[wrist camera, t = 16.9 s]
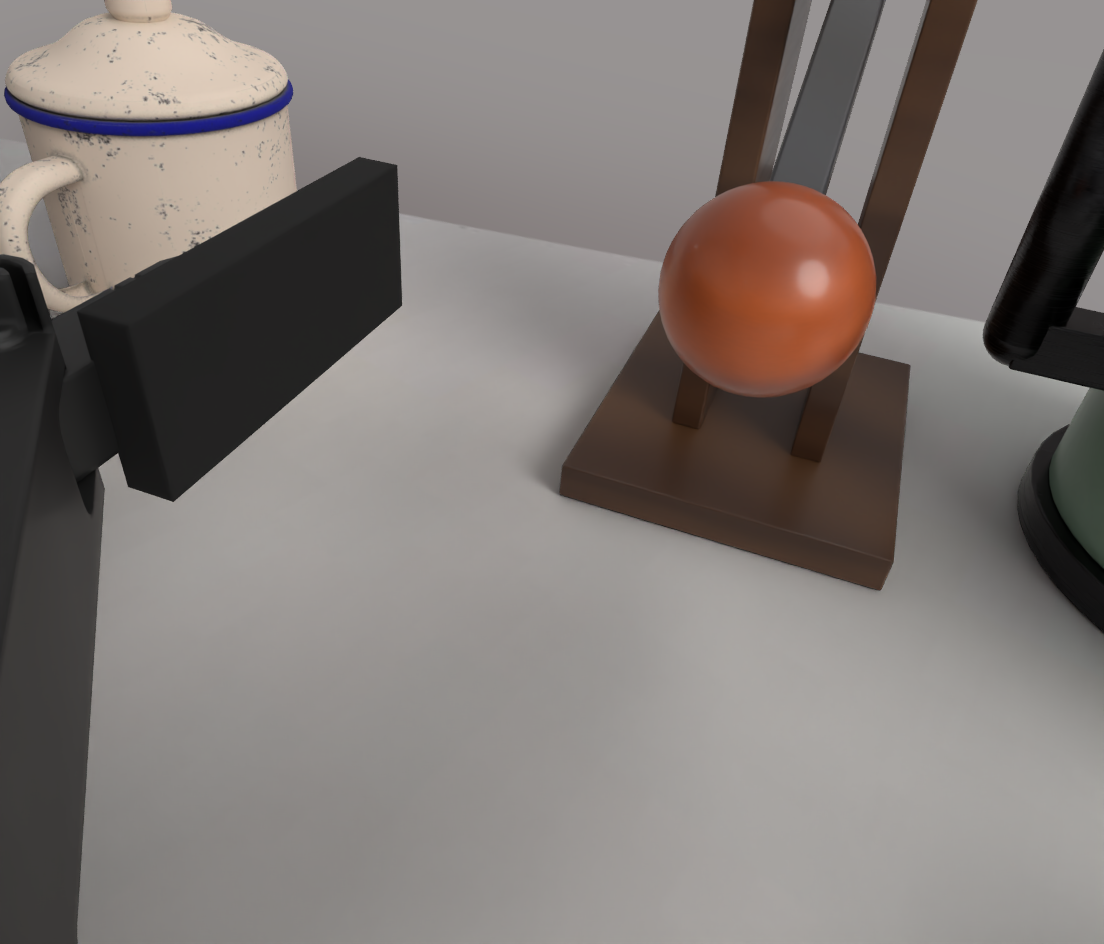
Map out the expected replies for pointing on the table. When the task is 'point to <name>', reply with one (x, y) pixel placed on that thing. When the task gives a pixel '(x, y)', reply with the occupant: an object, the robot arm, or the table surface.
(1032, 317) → the kettle
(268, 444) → the table surface
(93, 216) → the teacup with lid
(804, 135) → the switch lever
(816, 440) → the switch base
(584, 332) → the table surface
